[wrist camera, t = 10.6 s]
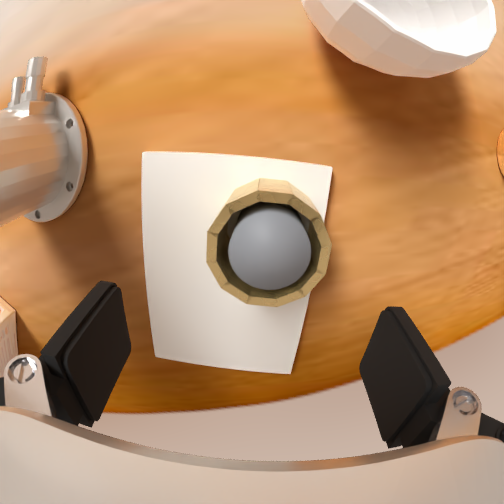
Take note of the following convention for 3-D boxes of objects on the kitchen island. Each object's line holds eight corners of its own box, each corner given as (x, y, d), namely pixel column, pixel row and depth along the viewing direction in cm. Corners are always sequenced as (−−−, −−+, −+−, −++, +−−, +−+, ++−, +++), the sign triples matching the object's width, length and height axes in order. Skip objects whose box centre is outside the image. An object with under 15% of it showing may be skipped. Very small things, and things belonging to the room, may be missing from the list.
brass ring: (222, 174, 20) (209, 186, 15) (323, 185, 20) (339, 200, 15) (217, 265, 23) (205, 299, 18) (308, 275, 22) (317, 310, 18)
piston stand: (147, 151, 20) (109, 158, 15) (329, 166, 20) (352, 177, 15) (158, 350, 28) (139, 391, 22) (289, 367, 28) (292, 412, 22)
